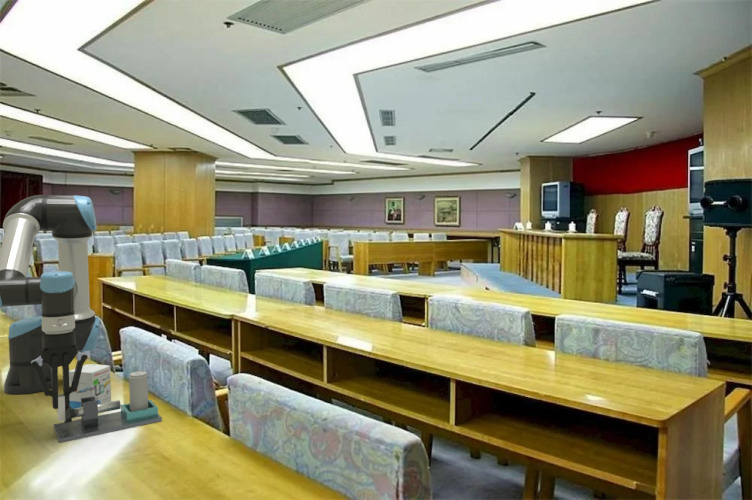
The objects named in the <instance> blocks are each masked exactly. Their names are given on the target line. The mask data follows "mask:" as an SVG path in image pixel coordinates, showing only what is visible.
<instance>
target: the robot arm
mask: <svg viewBox="0 0 752 500" xmlns="http://www.w3.org/2000/svg"><path fill="white" fill-rule="evenodd" d="M3 218H4V219H3V221H2V222H3V223H2V228H3V230H4V234H3V239H2V242H1V247H0V308H2V307H3V308H4V307H16V306H29V305H30V306H33V305H35V306H36V305H41V306H40V307H41V315H38V316H32V317H28V318H27V317H26V318H23V319H19V320H16V321H14V322H12V323H11V324H10V325H9V327H8V336H7V339H8V354H9V368H8V372H7V374H6V378H5V380H4V384H3V387H4V388H3V389H4V393H6V394H11V395H22V394H23V395H24V394H33V393H34V394H35V393H38V392H43V393H44V396H45V397H51V401H52V403H51V405H52V408H53V410H56V411H57V420H58V422H59V423H62V422H64V421H65V407H69V405H70V398H69V395H70V394H71V393H72V392H75V391H77V388H78V384H79V380H80V376H81V371H82V367H83V366H84V365H85V362H86V361H87V359H88V355H87V354H86V353H87V352H92V351H94V350H95V349H96V348H97V346H98V339H99V338H98V337H99V329H100V320H101V319H100V318H101V317H99V316H96V312H95V311H94V310H93V309H91V307H90V304H91V303H90V302H91V301H90V280H89V279H90V278H89V277H90V275H89V255H88V254H89V253H88V250H89V249H88V241H89V240H90V239H91V238H92V237H93V232H96V231H98V230H97V229H98V227H97V219H96V212H95V207H94V203H93V201H92V199H91V197H89V196H83V195H75V194H73V195H72V194H70V195H68V194H67V195H65V194H64V195H63V194H61V195H57V194H55V195H50V194H49V195H48V194H47V195H46V194H45V195H44V194H37V195H31V196H28V197H26V198H24V199H22V200H19V202H17V203H16V204H14V205H12V207H11V208H10V209H9V210H8V212H7V213H6V214H5V216H4V217H3ZM39 232H51V237H52V238H53V239H54V240H55V241H56V242H57V250H58V252H57V253H58V271H47V272H43V273H42V274H41V275H40V276H31V277H30V276H28V274H29V273H28V272H29V267H30V261H31V256H32V252H33V245H34V240H35V237H36V236H37V235H38V233H39ZM75 358H76V365H75V368H74V369H75V372H74V376H73V380H72V384H71V387H69V371H70V365H71V363H72V362H73V360H74V359H75ZM60 367H61V368H62V390H63V392H62V393H59V374H58V373H59V372H58V371H59V368H60Z"/></svg>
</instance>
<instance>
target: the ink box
mask: <svg viewBox="0 0 752 500" xmlns="http://www.w3.org/2000/svg"><path fill="white" fill-rule="evenodd" d="M74 372H75V368H73V369H69V387H71V384H72V380H73V376H74ZM111 375H112V374H111V365H107V364H93V363H91V364H88V363H87V364H83V367H82V371H81V376H80V380H79V384H78V388H77V391H75V392H72V393H71V394H70V395H69V398H70V406H71V409H74V408H79V407H81V398H85V397H91V396H95V400H97V401H98V404H101V403H107V402H112V386H111V385H112V384H111V382H112V380H111Z"/></svg>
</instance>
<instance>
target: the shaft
mask: <svg viewBox="0 0 752 500" xmlns="http://www.w3.org/2000/svg"><path fill="white" fill-rule="evenodd" d="M121 405H122V404H121V401H120V400H111V402H107V403H101V404H98V414H100V413H101V414H102V413H106V412H111V411H117V410H121ZM81 416H84V415H83V407H79V408H74V409H71V406H70V405H69V407H65V421H63V422H65V423H70V422H72V421H73V419H74V418H79V417H80V418H81Z"/></svg>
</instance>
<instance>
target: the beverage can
mask: <svg viewBox="0 0 752 500" xmlns="http://www.w3.org/2000/svg"><path fill="white" fill-rule="evenodd" d="M148 377H149V376H148V372H147V371H145V370H138V371H134V372H133V371H132V372H130V373H129V377H128V385H129V386H128V388H129V390H128V391H129V403H130V412H131V411H137V410H142V409H147V408H148V400H149V382H148V381H149V380H148Z"/></svg>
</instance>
